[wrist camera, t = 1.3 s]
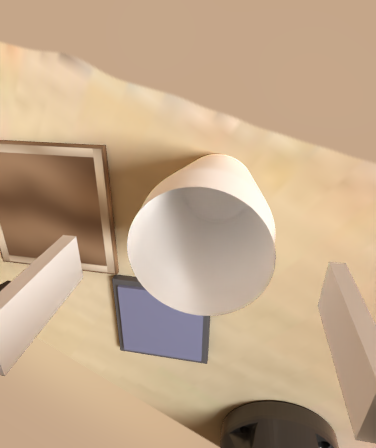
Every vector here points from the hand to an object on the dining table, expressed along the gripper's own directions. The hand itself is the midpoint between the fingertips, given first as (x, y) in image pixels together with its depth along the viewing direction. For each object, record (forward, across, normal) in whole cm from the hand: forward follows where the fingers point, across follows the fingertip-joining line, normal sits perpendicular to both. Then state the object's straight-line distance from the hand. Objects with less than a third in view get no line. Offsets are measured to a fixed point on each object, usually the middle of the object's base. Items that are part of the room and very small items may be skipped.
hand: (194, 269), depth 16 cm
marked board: (+14, +18, +4) cm, 23 cm away
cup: (+14, 0, 0) cm, 14 cm away
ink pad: (+14, +6, +17) cm, 22 cm away
